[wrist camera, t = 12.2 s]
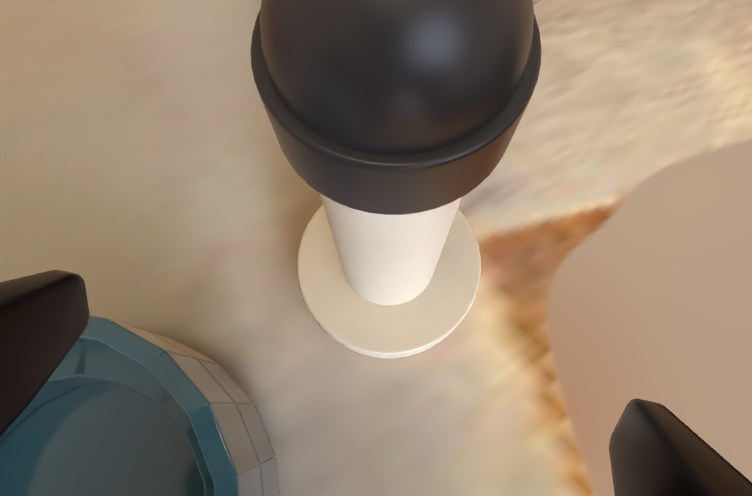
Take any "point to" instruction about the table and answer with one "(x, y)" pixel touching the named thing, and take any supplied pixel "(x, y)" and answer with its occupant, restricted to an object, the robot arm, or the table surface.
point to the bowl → (137, 425)
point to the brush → (393, 150)
